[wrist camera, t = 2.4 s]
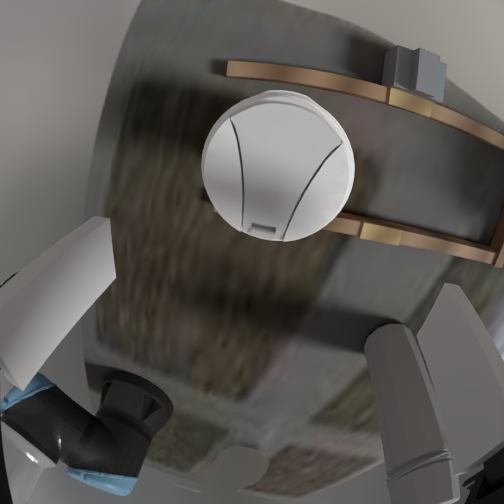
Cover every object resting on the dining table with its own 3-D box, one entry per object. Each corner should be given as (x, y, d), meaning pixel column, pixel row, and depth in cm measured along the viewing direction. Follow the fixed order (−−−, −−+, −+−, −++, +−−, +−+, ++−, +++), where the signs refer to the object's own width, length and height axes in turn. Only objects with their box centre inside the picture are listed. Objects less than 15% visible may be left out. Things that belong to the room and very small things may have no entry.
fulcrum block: (380, 88, 23) (399, 84, 18) (385, 52, 21) (403, 41, 16) (425, 103, 23) (450, 103, 18) (429, 68, 21) (454, 62, 16)
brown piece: (218, 206, 31) (212, 214, 29) (232, 63, 24) (227, 58, 22) (492, 259, 28) (501, 268, 26) (524, 149, 21) (536, 154, 19)
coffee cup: (315, 192, 29) (332, 266, 16) (236, 174, 29) (185, 231, 16) (336, 113, 25) (379, 114, 12) (252, 94, 25) (208, 75, 12)
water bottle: (361, 362, 38) (383, 526, 16) (362, 323, 35) (398, 514, 13) (418, 350, 37) (463, 501, 14) (426, 310, 33) (494, 479, 11)
